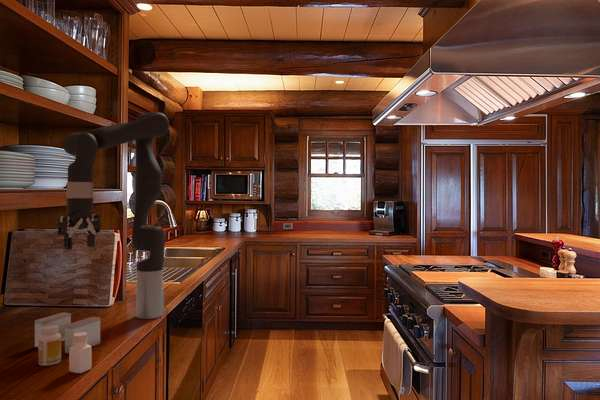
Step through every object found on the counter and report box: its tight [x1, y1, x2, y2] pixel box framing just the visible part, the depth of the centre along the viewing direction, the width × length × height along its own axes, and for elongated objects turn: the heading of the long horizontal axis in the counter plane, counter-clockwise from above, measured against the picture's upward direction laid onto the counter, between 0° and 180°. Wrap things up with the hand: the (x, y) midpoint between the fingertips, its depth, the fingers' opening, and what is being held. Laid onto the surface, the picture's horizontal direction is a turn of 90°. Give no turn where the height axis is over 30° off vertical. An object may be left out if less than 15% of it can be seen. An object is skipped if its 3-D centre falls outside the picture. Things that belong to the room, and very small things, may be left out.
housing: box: [34, 312, 101, 354], centre depth 136 cm, size 10×15×8 cm, turn 69°
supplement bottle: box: [37, 325, 62, 367], centre depth 122 cm, size 5×5×10 cm
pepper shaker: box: [68, 332, 92, 374], centre depth 117 cm, size 4×4×10 cm
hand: (79, 248), depth 143 cm, fingers open, 8 cm apart
